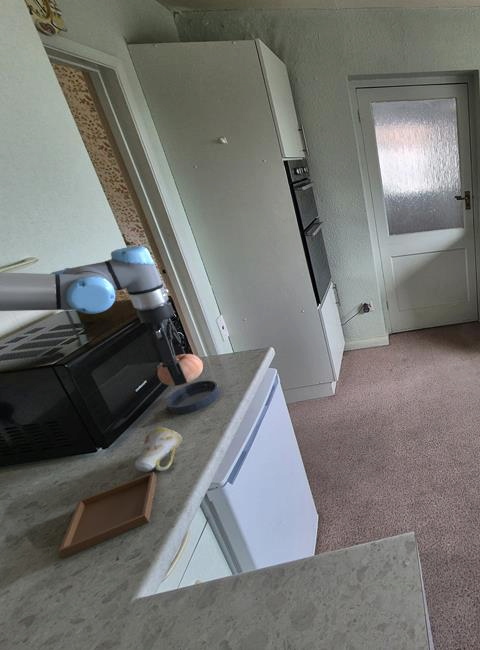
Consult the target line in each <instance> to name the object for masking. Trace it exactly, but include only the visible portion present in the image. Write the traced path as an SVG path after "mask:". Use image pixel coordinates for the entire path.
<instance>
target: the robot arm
mask: <svg viewBox="0 0 480 650" xmlns="http://www.w3.org/2000/svg"><path fill="white" fill-rule="evenodd" d="M110 258H111V259H108V260H104V261H101V262H96V263H91V264H85V265H80V266H79V265H78V266H74V267H65V268H64V269H60V270H56V271H52V272H50V273H35V272H31V273H30V272H2V271H1V272H0V312H20V311H21V312H22V311H23V312H24V311H25V312H26V311H27V312H28V311H29V312H30V311H76V312H79V313H83V314H88V315H92V314H93V315H94V314H99V313H104V312H105V311H107V310H109V309H110V308H111V307H112V306H113V304H114V303H115V300H116V292H119V291H122V290H126V291H127V294H128V296H129V299H130V301H131V303H132V306H133V308H134V309H136V310H135V311H136V314H137V316H138V318H139V320H140V322H141V323H143V324H152V326H153V327H152V328H151V330H152V331H151V335H152V337H153V339H154V341H155V345H156V347H157V350H158V353H159V356H160V359H161V362H162V363H163V365H162V367H163V368H164V367H167V368H168V371H169V373H170V375H171V377H172V379H173V382H174V384H175V386H174V387H178V385H180V386H182V385H181V384H184V383H187V380H186V378H185V375H184V373H183V371H182V368H181V366H180V364H179V362H177V359H176V356H177V355H181V354H186V351H185V350H184V347H183V345H184V344H185V341H184V340H183V339H182V337H181V336H180V334H179V333H178V330H177V328H176V327H175V325H174V323H173V321H172V319H171V318H172V317H173V316H174V315H175V310H174V308H173V305H172V303H171V301H169V296H168V293H169V290H168V289H165V287H164V284H163V281H162V279H161V276H160V273H159V270H158V268H157V266H156V263H155V262H154V259H153V257H152V255H151V253H150V251H149V249H148V248H147V247H145V246H142V245H134V246H127V247H122V248H118V249H114V250H112V251H111V252H110ZM168 361H169V362H168ZM187 384H188V383H187ZM184 385H185V384H184Z"/></svg>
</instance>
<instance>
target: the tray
mask: <svg viewBox="0 0 480 650" xmlns="http://www.w3.org/2000/svg"><path fill="white" fill-rule="evenodd" d="M157 481H158V477H157V475H156V473H155V471H152V472H150V473H147V474H145V475H142V476H139V477H137V478H134V479H131V480H129V481H126V482H123V483H121V484H118V485H116V486H114V487H109V488H107V489H105V490H103V491H100V492H97V493H95V494H92V495H89V496H86V497H84V498H81V499H79V500H78V502H77V504H76V507H75V509H74V511H73V514H72V516H71V519H70V522H69V524H68V526H67V529H66V531H65V533H64V536H63V539H62V541H61V544H60V546H59V548H58V551H57V553H58V554H59V555H60V556H61V558H62V559H66V558H68V557H70V556H72V555H75V554H77V553H79V552H82V551H84V550H85V549H88V548H91V547H94V546H96V545H98V544H101V543H102V542H106V541H108V540H109V539H112V538H115V537H118V536H119V535H122V534H124V533H126V532H129V531H131V530H133V529H136V528H138V527H141V526H143V525H145V524H147V523H149V522H150V517H151V514H152V513H151V512H152V508H153V501H154V496H155V491H156V486H157Z"/></svg>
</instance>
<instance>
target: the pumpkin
mask: <svg viewBox="0 0 480 650" xmlns="http://www.w3.org/2000/svg"><path fill="white" fill-rule="evenodd" d="M176 359H177V362H179V364H180V366H181V368H182V371H183V373H184V375H185V378H186V380H187V383H184V384H181V385H178V386H185V385H188V384H191V383H193V381H195V380H196V379H198V377H199V376H200V375H201V374H202V372H203V369H204V363H203V361H202V360H201V359H200V358H199V357H198V356H197V355H195V354H192V353H185V354H181V355H177V356H176ZM168 362H169V361H168ZM162 365H163V362H162V363H161V364H160V365H159V367H158V368H157V378H158V379H159V381H160V382H161V383H162V384H164V385H165V386H171V387H176V386H175V384H174V382H173V379H172V377H171V375H170V373H169V371H168V368H167V367H164V368H163V367H162ZM178 386H177V387H178Z"/></svg>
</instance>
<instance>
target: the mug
mask: <svg viewBox="0 0 480 650" xmlns="http://www.w3.org/2000/svg"><path fill="white" fill-rule="evenodd" d="M182 442H183V436H182V435H181V434H180V433H179V432H176V431H175V430H172V429H169V428H166V427H154V428H153V429H151V430H150V431H149V433H148V434H147V435H146V437H145V440H144V444H143V448H142V451H141V453H140V456H139V457H138V458H137V459H136V461H135V462H134V463H135V464H134V465H135V468H136V469H137V471H139V472H144V473H148V472H151V471H153V470H154V469H156V471H157V472H164V471H166V470H168V469H169V468H170V467H171V465H172V464H173V461H174V458H175V457H174V456H175V453H176V451H177V449H178V448H179V446H180V445H181V443H182ZM168 456H169V462H168V463H167V464H166V465H164V466H160V465H161V461H162V460H163V459H165V458H167V457H168Z"/></svg>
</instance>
